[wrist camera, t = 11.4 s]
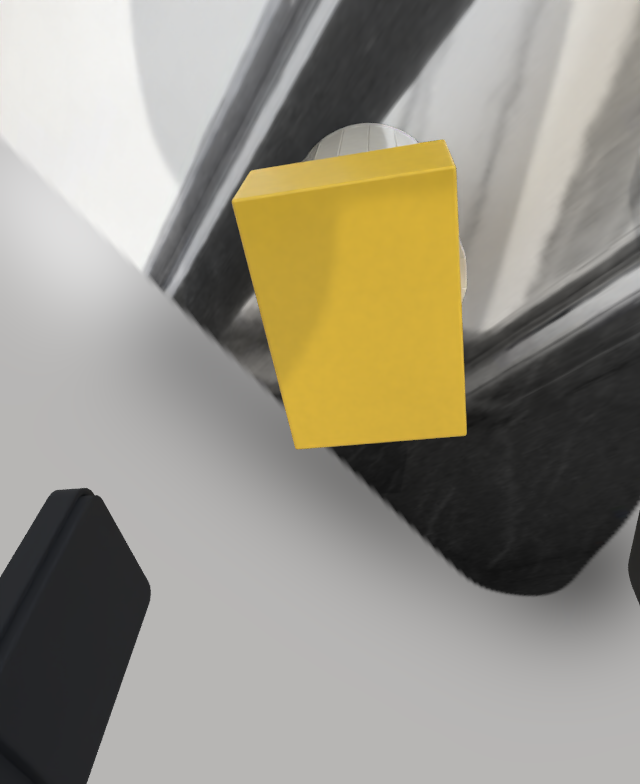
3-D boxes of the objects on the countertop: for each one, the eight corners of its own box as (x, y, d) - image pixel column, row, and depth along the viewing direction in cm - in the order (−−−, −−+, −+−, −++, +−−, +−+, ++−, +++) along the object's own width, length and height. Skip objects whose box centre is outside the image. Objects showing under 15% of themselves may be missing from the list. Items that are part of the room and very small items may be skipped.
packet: (249, 170, 18) (230, 200, 16) (445, 138, 17) (456, 165, 15) (303, 400, 23) (295, 450, 21) (457, 386, 22) (467, 436, 20)
